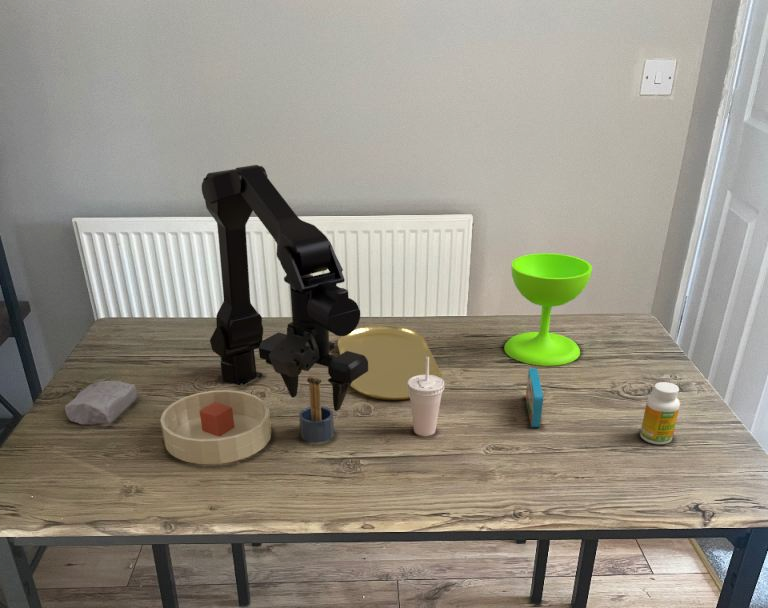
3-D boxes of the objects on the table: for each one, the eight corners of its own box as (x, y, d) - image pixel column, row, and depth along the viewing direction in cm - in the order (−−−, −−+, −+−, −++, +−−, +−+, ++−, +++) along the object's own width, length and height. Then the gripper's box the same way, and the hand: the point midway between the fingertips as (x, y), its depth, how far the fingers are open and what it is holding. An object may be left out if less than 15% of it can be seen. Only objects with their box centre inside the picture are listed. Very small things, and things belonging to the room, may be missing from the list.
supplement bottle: (655, 448, 137) (666, 397, 131) (633, 434, 141) (643, 384, 135) (678, 440, 139) (690, 389, 133) (656, 427, 143) (667, 377, 137)
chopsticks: (314, 432, 141) (310, 374, 135) (324, 435, 140) (321, 377, 134) (310, 434, 140) (306, 377, 134) (320, 437, 139) (317, 380, 133)
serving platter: (416, 329, 180) (416, 322, 179) (450, 400, 152) (450, 392, 151) (333, 334, 178) (333, 327, 177) (352, 407, 149) (352, 400, 148)
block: (217, 421, 144) (215, 401, 142) (234, 427, 142) (232, 407, 140) (202, 430, 141) (199, 410, 139) (219, 436, 139) (216, 416, 137)
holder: (313, 425, 144) (312, 403, 141) (340, 434, 141) (340, 411, 139) (293, 439, 140) (292, 416, 137) (321, 448, 137) (319, 425, 135)
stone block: (66, 431, 146) (113, 426, 143) (55, 407, 144) (103, 402, 141) (98, 403, 156) (143, 398, 153) (89, 380, 153) (134, 375, 150)
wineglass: (500, 334, 177) (507, 252, 167) (573, 335, 177) (585, 253, 166) (507, 365, 164) (515, 278, 154) (586, 366, 164) (599, 279, 153)
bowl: (215, 405, 150) (212, 381, 147) (292, 431, 142) (290, 406, 139) (143, 447, 138) (137, 422, 135) (222, 478, 130) (218, 451, 127)
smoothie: (446, 426, 143) (450, 353, 135) (437, 443, 138) (439, 369, 130) (412, 421, 145) (413, 348, 137) (401, 437, 140) (402, 363, 132)
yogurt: (525, 397, 152) (528, 367, 149) (533, 397, 152) (537, 367, 149) (531, 428, 143) (534, 397, 139) (539, 428, 143) (543, 397, 139)
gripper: (231, 319, 126) (242, 408, 135) (327, 345, 118) (331, 437, 127) (276, 298, 134) (283, 383, 143) (369, 321, 126) (370, 409, 135)
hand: (315, 403), depth 137 cm, fingers open, 9 cm apart
